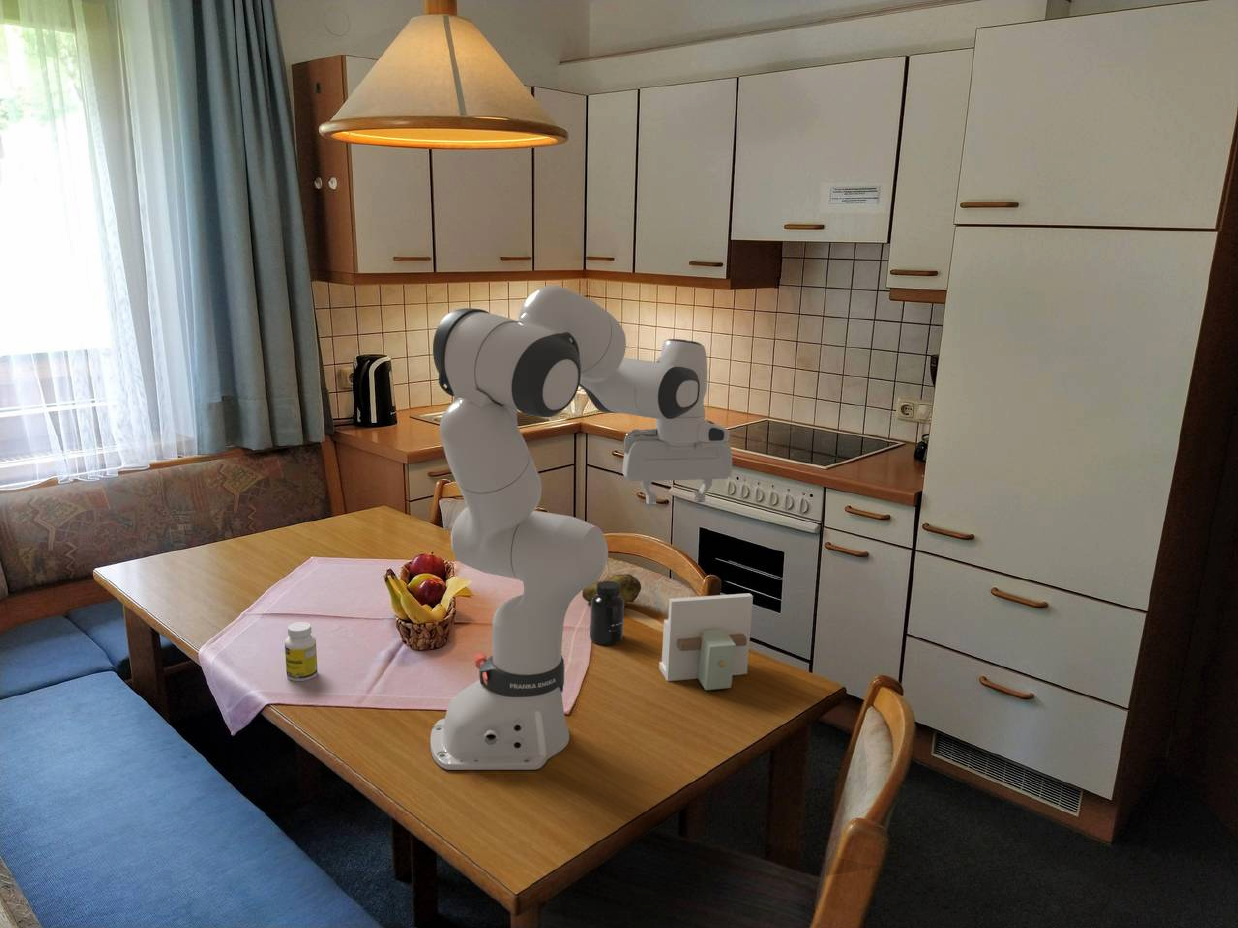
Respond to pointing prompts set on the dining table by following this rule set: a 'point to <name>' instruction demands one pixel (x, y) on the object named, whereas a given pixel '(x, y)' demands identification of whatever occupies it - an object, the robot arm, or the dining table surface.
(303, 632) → the supplement bottle
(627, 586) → the potato
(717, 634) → the pale green box
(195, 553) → the dining table surface
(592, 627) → the supplement bottle
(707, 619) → the wall board
